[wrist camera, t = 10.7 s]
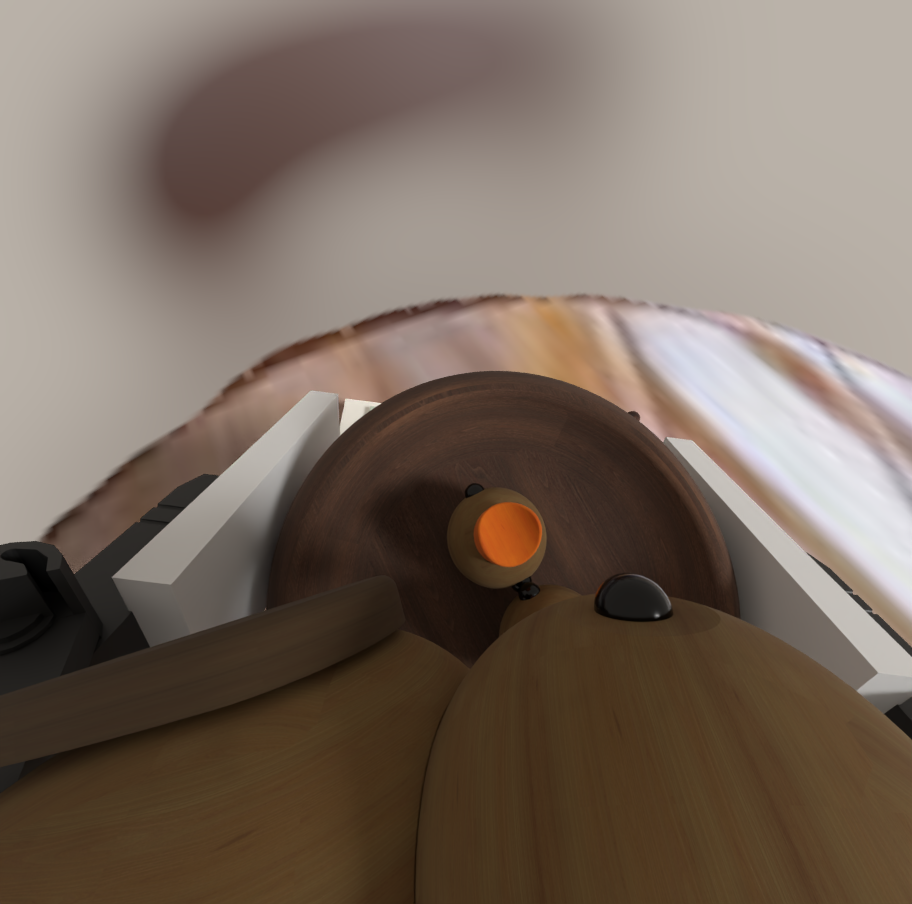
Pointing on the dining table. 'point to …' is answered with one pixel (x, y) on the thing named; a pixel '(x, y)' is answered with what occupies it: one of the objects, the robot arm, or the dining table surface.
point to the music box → (468, 699)
